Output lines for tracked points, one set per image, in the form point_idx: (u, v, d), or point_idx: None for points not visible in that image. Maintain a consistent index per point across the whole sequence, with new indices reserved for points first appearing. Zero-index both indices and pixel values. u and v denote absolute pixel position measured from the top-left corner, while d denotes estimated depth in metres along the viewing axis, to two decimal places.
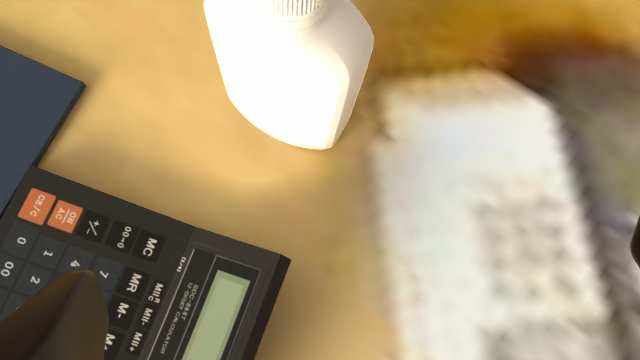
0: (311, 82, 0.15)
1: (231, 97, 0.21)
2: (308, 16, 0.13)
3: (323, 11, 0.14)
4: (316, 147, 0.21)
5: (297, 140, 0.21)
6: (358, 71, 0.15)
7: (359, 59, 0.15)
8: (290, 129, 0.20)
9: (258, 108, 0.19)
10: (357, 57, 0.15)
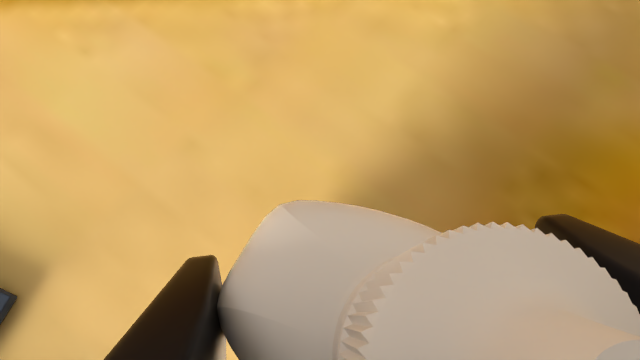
0: None
1: None
2: None
3: None
4: None
5: None
6: None
7: None
8: None
9: None
10: None
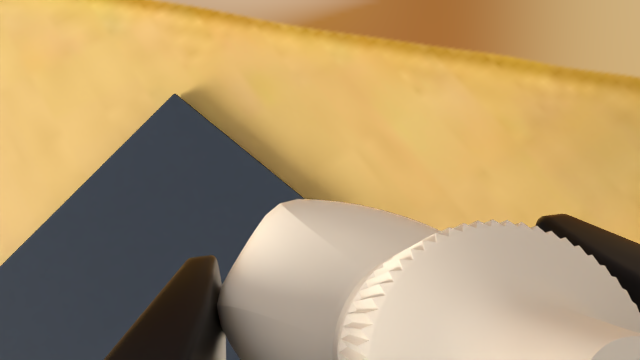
0: None
1: None
2: None
3: None
4: None
5: None
6: None
7: None
8: None
9: None
10: None
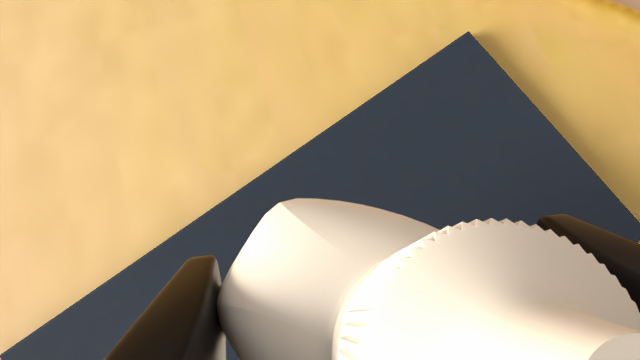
0: None
1: None
2: None
3: None
4: None
5: None
6: None
7: None
8: None
9: None
10: None
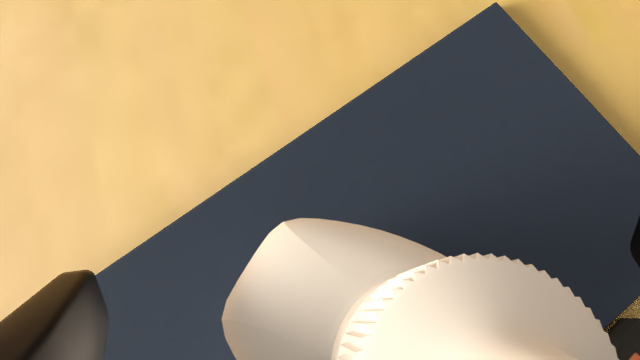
0: None
1: None
2: None
3: None
4: None
5: None
6: None
7: None
8: None
9: None
10: None
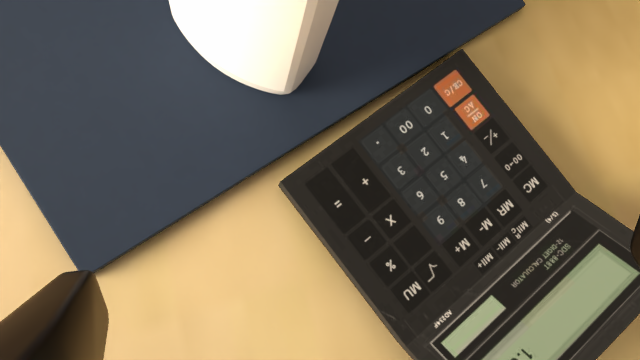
0: None
1: (175, 16, 0.17)
2: None
3: None
4: (273, 90, 0.18)
5: (250, 77, 0.17)
6: None
7: None
8: (242, 60, 0.16)
9: (205, 29, 0.16)
10: None
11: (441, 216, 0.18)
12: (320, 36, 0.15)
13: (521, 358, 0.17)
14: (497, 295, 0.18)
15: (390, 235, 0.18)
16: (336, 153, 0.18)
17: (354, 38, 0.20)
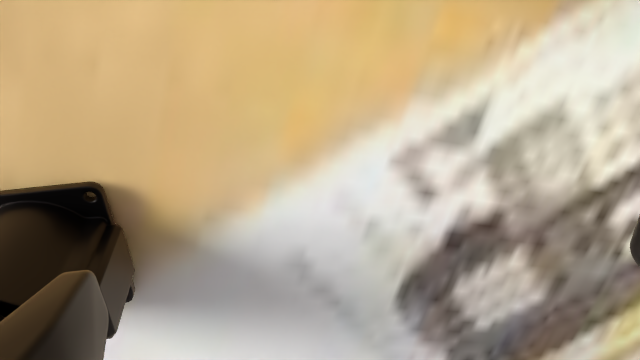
0: None
1: None
2: None
3: None
4: None
5: None
6: None
7: None
8: None
9: None
10: None
11: None
12: None
13: None
14: None
15: None
16: None
17: None
